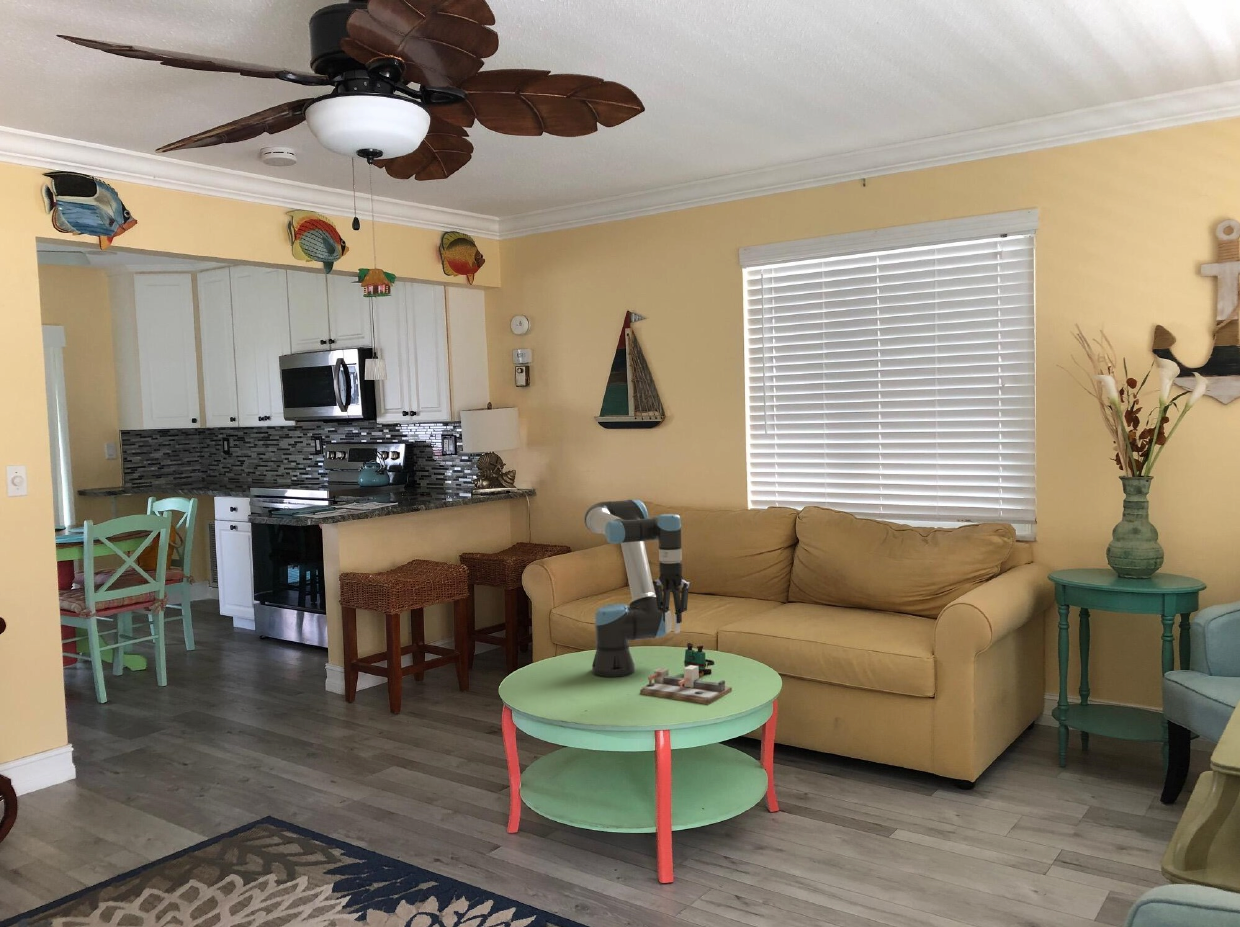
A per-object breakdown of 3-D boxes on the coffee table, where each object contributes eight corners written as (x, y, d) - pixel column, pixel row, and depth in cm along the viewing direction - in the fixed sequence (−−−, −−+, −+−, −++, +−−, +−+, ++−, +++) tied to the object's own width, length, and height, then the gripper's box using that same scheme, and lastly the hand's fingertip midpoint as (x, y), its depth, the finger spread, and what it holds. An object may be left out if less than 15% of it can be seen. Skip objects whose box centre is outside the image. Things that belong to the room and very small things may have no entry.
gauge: (640, 693, 306) (639, 677, 305) (665, 680, 319) (664, 665, 319) (708, 704, 292) (708, 687, 292) (731, 690, 305) (731, 674, 305)
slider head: (676, 691, 302) (675, 672, 302) (691, 683, 310) (690, 665, 310) (684, 692, 300) (683, 673, 300) (699, 684, 309) (698, 666, 308)
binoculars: (718, 643, 328) (700, 646, 321) (717, 674, 328) (699, 677, 321) (698, 640, 334) (680, 643, 327) (697, 670, 334) (679, 673, 327)
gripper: (644, 561, 310) (646, 632, 311) (685, 564, 302) (688, 636, 303) (656, 558, 316) (658, 627, 318) (696, 561, 308) (699, 632, 309)
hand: (672, 631), depth 310 cm, fingers open, 3 cm apart
